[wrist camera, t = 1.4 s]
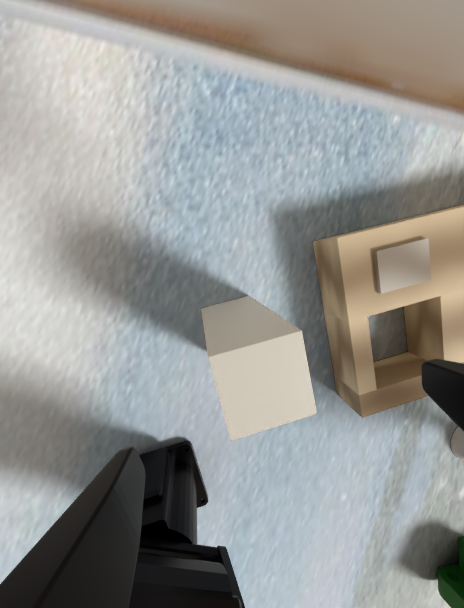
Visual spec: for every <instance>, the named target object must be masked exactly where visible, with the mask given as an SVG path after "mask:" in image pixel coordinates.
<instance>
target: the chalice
mask: <svg viewBox="0 0 464 608" xmlns="http://www.w3.org/2000/svg"><path fill="white" fill-rule="evenodd" d="M451 449H452V452H453V454H454V455H455V456H456V457H458V458H460V459H464V431H463V430H462V429H461V428H460V427H459V426H458V427H457V429H456V430H455V432H454V433H453V436H452V439H451Z"/></svg>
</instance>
